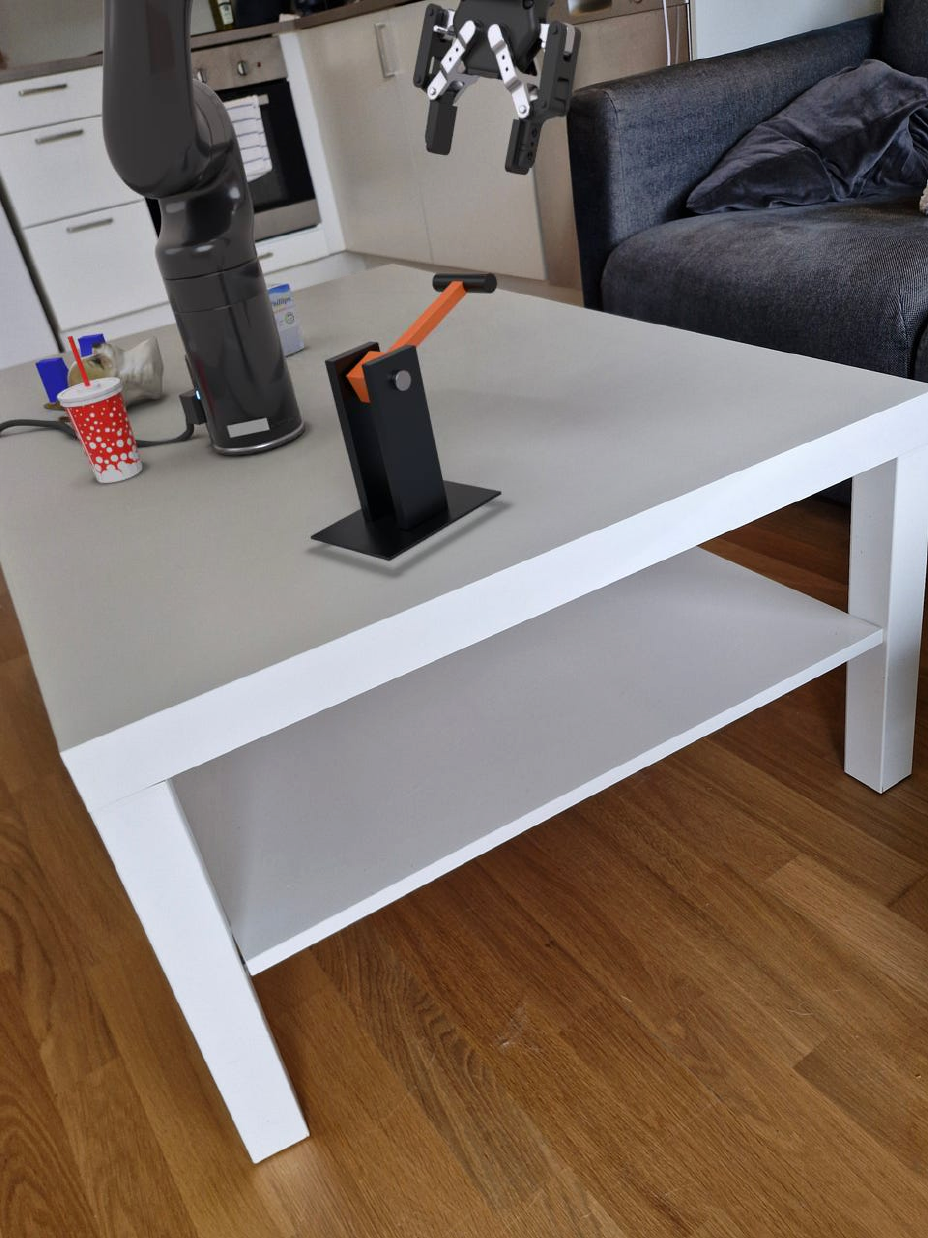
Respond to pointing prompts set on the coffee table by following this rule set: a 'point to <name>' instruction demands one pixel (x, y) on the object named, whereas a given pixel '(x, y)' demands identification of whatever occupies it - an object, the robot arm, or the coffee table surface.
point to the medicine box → (285, 318)
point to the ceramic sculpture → (120, 371)
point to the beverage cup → (102, 425)
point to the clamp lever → (429, 316)
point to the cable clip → (62, 367)
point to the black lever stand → (392, 458)
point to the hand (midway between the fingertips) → (475, 163)
